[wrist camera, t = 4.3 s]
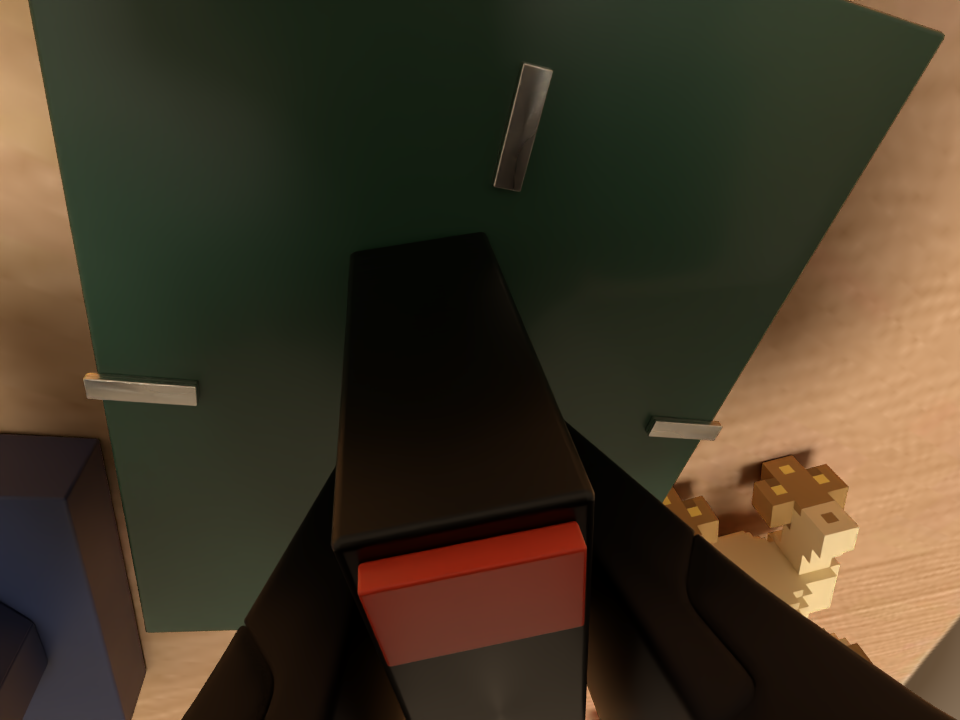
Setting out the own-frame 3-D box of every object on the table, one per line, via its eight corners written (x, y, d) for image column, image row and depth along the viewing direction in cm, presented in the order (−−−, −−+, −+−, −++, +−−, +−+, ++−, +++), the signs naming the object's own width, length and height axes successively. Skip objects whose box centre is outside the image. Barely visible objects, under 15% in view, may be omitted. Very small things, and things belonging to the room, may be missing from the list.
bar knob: (513, 516, 11) (589, 815, 7) (422, 533, 11) (451, 849, 7) (485, 227, 7) (612, 526, 3) (348, 250, 7) (323, 582, 3)
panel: (562, 522, 16) (597, 626, 14) (180, 515, 14) (137, 642, 11) (803, 15, 9) (966, 37, 7) (105, -206, 7) (-60, -306, 4)
